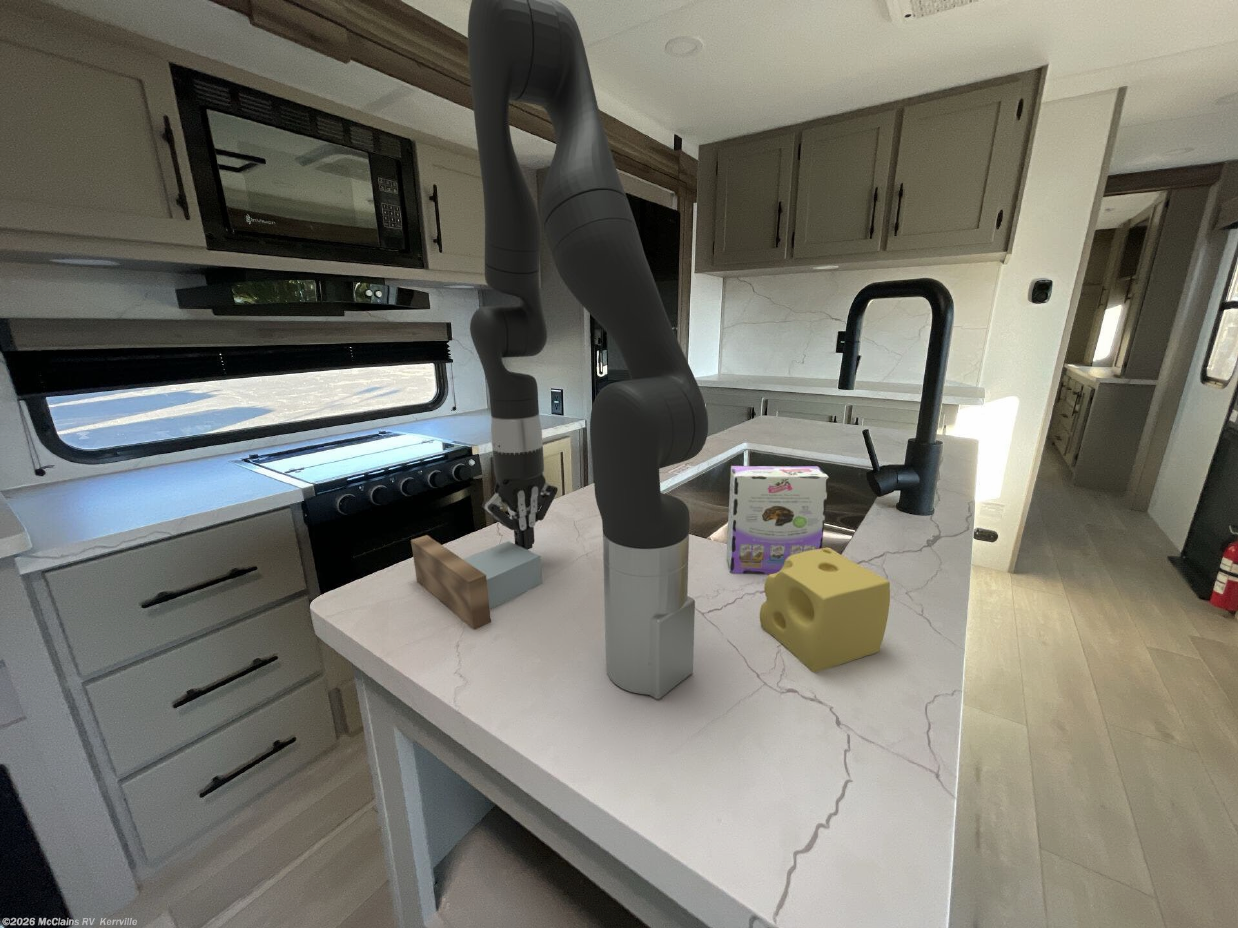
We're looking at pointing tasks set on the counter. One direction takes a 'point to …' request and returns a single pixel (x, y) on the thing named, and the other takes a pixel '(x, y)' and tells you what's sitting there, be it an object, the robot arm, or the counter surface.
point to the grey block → (507, 571)
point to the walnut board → (452, 581)
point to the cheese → (826, 608)
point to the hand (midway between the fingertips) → (525, 548)
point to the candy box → (774, 515)
